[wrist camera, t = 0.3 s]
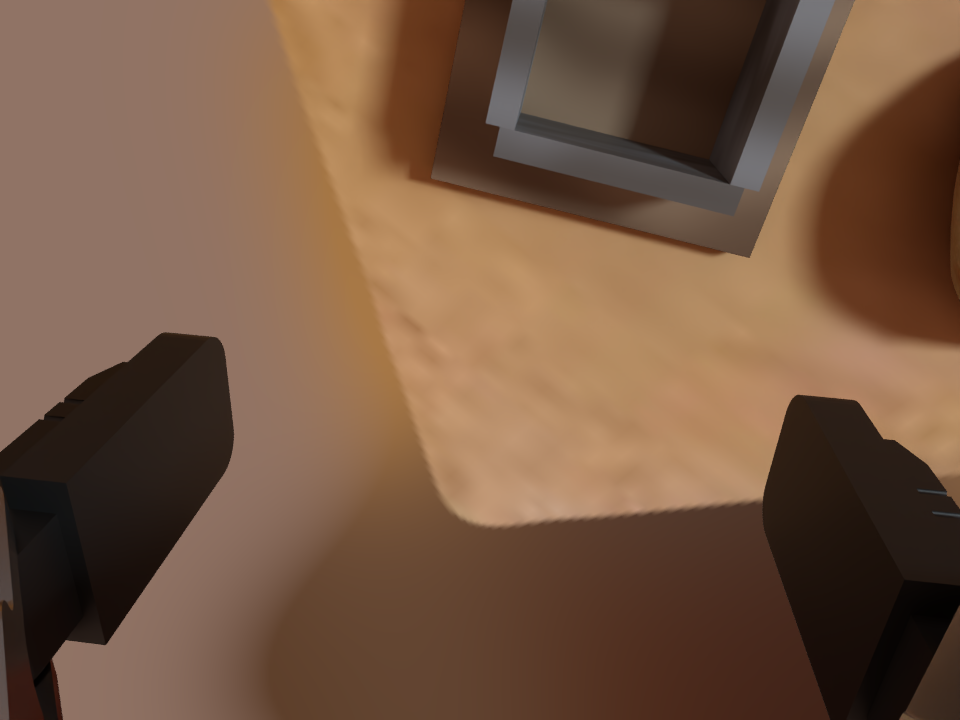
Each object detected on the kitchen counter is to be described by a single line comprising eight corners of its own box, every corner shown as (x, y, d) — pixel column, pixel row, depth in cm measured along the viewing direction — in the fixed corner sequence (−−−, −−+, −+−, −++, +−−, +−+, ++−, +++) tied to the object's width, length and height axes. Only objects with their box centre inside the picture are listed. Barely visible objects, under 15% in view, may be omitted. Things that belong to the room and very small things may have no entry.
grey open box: (511, -212, 31) (498, -259, 25) (888, -115, 31) (964, -140, 25) (435, 171, 38) (412, 204, 32) (743, 248, 38) (774, 294, 32)
